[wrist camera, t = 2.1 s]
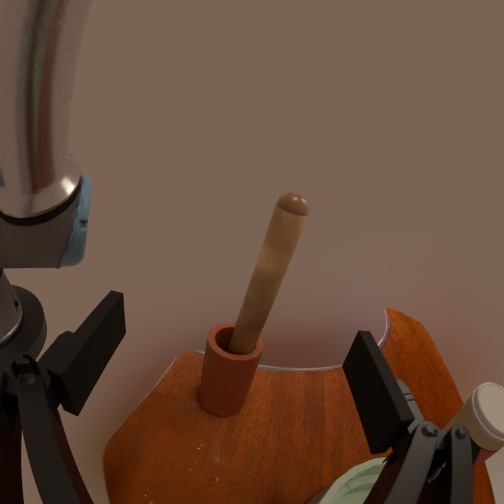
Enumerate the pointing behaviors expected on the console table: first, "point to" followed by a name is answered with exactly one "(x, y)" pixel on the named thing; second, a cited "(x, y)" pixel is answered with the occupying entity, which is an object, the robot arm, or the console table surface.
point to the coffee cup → (483, 421)
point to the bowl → (351, 485)
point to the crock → (226, 373)
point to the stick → (269, 271)
